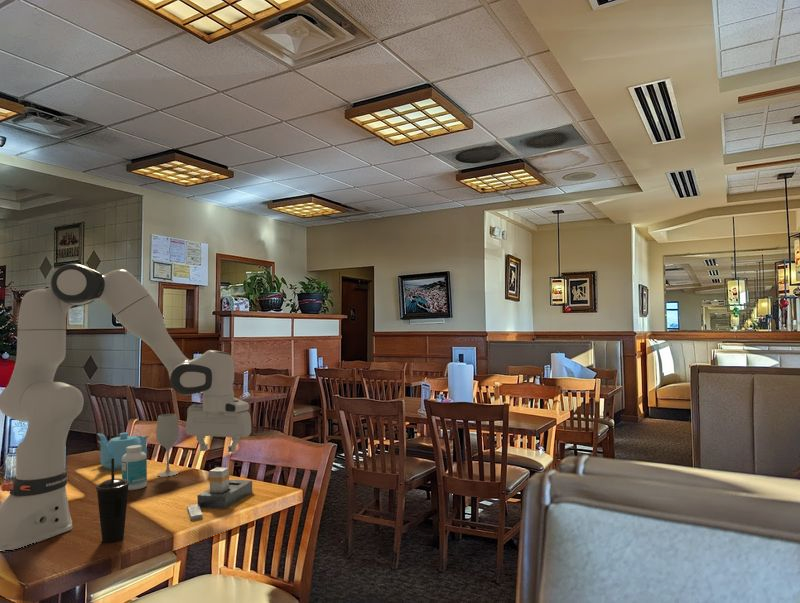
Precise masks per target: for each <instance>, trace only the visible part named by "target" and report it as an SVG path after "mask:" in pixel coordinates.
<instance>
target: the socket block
mask: <svg viewBox="0 0 800 603" xmlns="http://www.w3.org/2000/svg"><path fill="white" fill-rule="evenodd" d="M251 493H253V480H247V479H246V480H244V479H243V480H241V479H229V491H228V492H226V493H224V494H210V488H208V489H206V490H205V491H202V492H200V493H198V494H197V504H198V505H199V507H200V509H201V508H204V509H217V510H219V509H220V510H221V509H222V510H226V509H228V508H229V507H230V506H232V505H234V504H235V503H237V502H239V501H240V500H242V499H243V498H244V499H245V497H247V496H248V495H249V494H251Z"/></svg>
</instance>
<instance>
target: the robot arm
mask: <svg viewBox="0 0 800 603" xmlns="http://www.w3.org/2000/svg"><path fill="white" fill-rule="evenodd" d="M95 301H99V302H101V303H103V304H104V305H105V306H106V307H107V308H108V309H109V311H110V312H111V313H112V315H113V316H114V317H115V319H116V320H117V321H118V322H119V323H120V324H121V326H123V327H124V329H126V330H127V331H128V332H129V333H131V335H132V336H134V337H135V338H138V339H139V340H141V341H143V342H144V343H145V344H147V345H148V346H149V348H151V350H152V351H153V352H154V353H155V355H156V356H157V358H158V359H159V360H160V362H161V363H162V364H163V365H164V367H165V368H166V371H167V373H168V380H169V384H170V387H171V388H172V390H174V391H175V393H177V394H179V395H182V396H191V395H194V394H197V393H199V394H200V393H202V403H201V404H199V403H192V404H190V406H188V408H187V415H186V416H187V418H186V422H185V433H186V435H187V436H195V437H196V441H197V443H198V444H199V451H200V452H206V451H208V444H207V443H205V438H206V437H219V438H220V437H222V438H223V437H224V438H226V437H227V438H231V441H232V443H231V445H229V446H228V449H227V451H228V453H236V450H237V449H236V448H237V445H238V443H239V442H240V439H241V438H247V437H249V436H250V434H251V433H252V419H251V418H252V416H251V414H250V412H249V409H250V404H249V402H247V401H245V400H242V399H239V398H237V397H235V392H234V383H235V382H234V381H235V364H234V359H233V356H232V355H231V354H230V353H228V352H226V351H221V350H220V351H219V350H215V349H214V350H213V349H209V350H206V351H205V352H204V353H203V354H201V355H199V356H196V357H195V358H193V359H190V358H188V357H187V356H186V355H185V354H184V353H183V352H182V351H181V348H179V346H178V345H177V344H176V342H175V341H174V340H173V338H172V337H171V335H170V334H169V333H168V330H167V328H166V323H165V320H164V318H163V314H162V312H161V310H160V308H159V306H158V304H157V302H156V301H155V299H154V298H153V296H152V295H151V294H150V292H149V291H148V290H147V289H146V288H145V286H144V285H143V284H142V283H141V282H140V280H138V279H137V277H135V276H134V275H133V274H132V273H131V272H130V271H128V270H126V269H120V268H119V269H115V270H111V271H109V272H107V273H105V274H102V273H101V272H99V271H97V270H95V269H92V268H90V267H88V266H86V265H83V264H79V263H68V264H67V263H66V264H64V265H62V266H60V267H59V268H57V269H56V270H55V271H54V272H53V274H52V276H51V278H50V287H47V288H36V289H31V290H30V291H27V292H25V294H24V295H23V296H22V299H21V302H20V307H19V311H18V312H19V313H18V318H17V335H16V336H17V340H16V357H15V358H16V359H15V362H14V363H15V364H14V369H13V371H12V374H11V376H10V379H9V382H8V384H7V385H6V386H5V387H4V389H3V390H2V391H1V393H0V411H1V413H2V414H3V415H5V416H6V417H9V418H10V419H12V420H15V421H18V422H26V423H27V429H26V432H25V435H24V438H23V440H22V441H21V442H20V443H19V444H18V445H17V447H16V448H15V450H16V451H15V477H14V479H13V482H12V483H11V482H9V483H7V482H3V483H2V484H1V485H0V490H1V492H9V495H8V496H7V498H5V499H4V500H3V502H2V503H1V504H0V550H12V549H18V548H21V547H23V548H25V547H24V546H26V547H28V546H27V545H29V544H31V545H33V544H32V543H34V544H36V542H37V543H39V542H43V541H45V540H47V539H49V538H53V537H56V536H58V535H60V534H63V533H66V532H69V531H72V530H73V519H72V517H71V512H70V506H69V501H68V495H67V489H66V485H67V484H68V473H67V472H68V471H67V469H66V444H67V438H68V436H69V435H68V434H69V432H70V428H71V427H72V426H71V425H72V423H73V422H74V420H75V419H76V418H77V417H78V416H79V415H80V414H81V413H82V411H83V407H84V404H85V400H84V399H85V398H84V395H83V393H82V391H81V390H80V389H79V388H77V387H76V386H73V385H71V384H68V383H65V382H64V381H63V382H61V381H54V378H55V376H56V375H55V374H56V373H57V370H58V367H59V366H60V364H61V363H63V361H64V360H65V358H66V354H67V353H66V352H67V348H66V347H67V341H66V340H67V315H68V311H69V310H70V309H73V308H78V307H82V306H85V305H89V304H91V303H94V302H95ZM29 546H30V545H29ZM21 549H22V548H21ZM18 550H19V549H18Z"/></svg>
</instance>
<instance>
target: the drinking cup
mask: <svg viewBox="0 0 800 603" xmlns="http://www.w3.org/2000/svg"><path fill="white" fill-rule="evenodd" d="M110 472H111V473H110V475H111V476H110V477H111V478H109V479H106V480H104V481H102V482H100V483H98V484H97V485H96V486H95V490H96V494H97V502H98V503H97V505H98V513H99V514H98V515H99V522H100V524H99V525H100V531H101V542H102V543H104V544H109V543H110V544H111V543H112V544H113V543H115V542H120V541H121V540H123V539H124V537H125V529H126V528H125V527H126V516H127V504H128V495H129V490H128V486H129V484H130V482H129V481H127V480H123V479H122V478H115V470H114V459H111V471H110Z"/></svg>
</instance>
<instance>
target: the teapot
mask: <svg viewBox="0 0 800 603" xmlns="http://www.w3.org/2000/svg"><path fill="white" fill-rule="evenodd" d="M97 436H99V438H100V440H97V442H98V443H99V445H100V452H99V458H100V465H102V467H103V468H104V469H105V470H111V459H114V471H115V470H117V471H119V470H122V457H123V455H125V454H126V453H127V451H126V447H128V446H133V445H141V446H142V450H141V452H144V453H145V454H146V458H148V456H147V454H148V449H147V440H148V438H149V435H146V436H143V435H140V434H138V435H129V432H120V433H119V436H116V437H112V438H110V439H109V441H108V440H107V437H106V436H105V434H103V433H99V432H98V433H97Z"/></svg>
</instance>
